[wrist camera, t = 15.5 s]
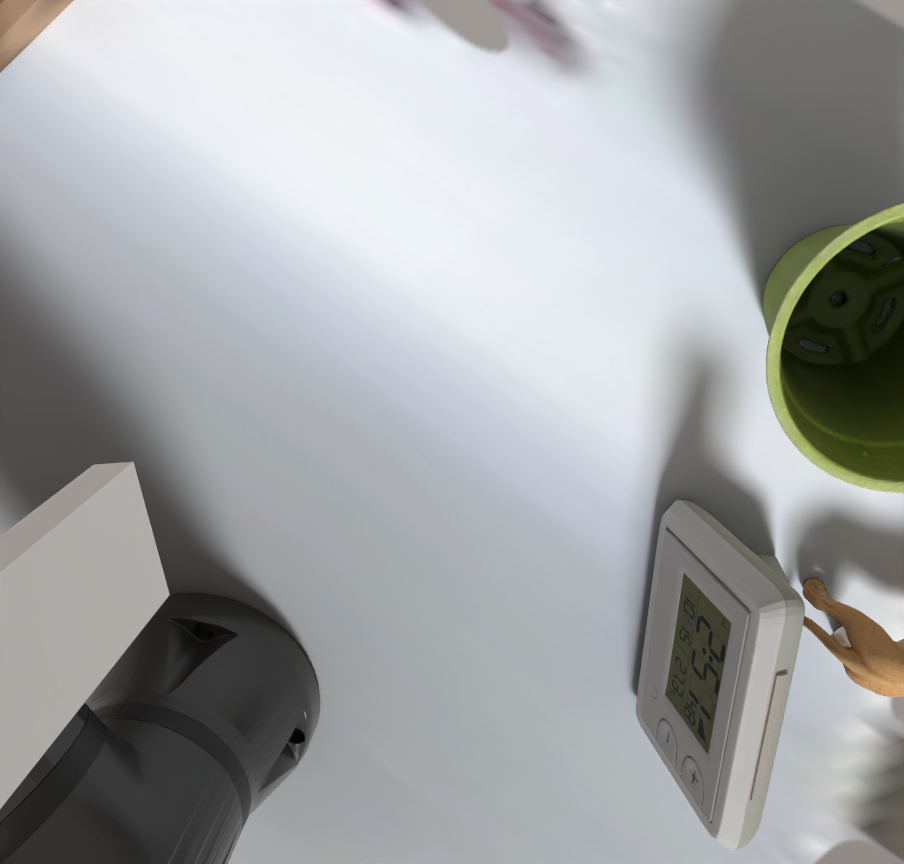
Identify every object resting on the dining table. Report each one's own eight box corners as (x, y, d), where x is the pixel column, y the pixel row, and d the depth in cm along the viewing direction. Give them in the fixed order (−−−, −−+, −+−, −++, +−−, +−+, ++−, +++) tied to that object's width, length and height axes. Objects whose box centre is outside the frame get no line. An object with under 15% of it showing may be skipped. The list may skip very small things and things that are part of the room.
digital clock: (670, 478, 47) (699, 576, 37) (825, 519, 46) (896, 628, 37) (589, 698, 53) (595, 832, 43) (725, 735, 53) (763, 878, 43)
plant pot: (961, 385, 43) (1090, 473, 32) (726, 417, 45) (775, 509, 34) (965, 150, 39) (1113, 164, 28) (707, 198, 41) (756, 227, 30)
